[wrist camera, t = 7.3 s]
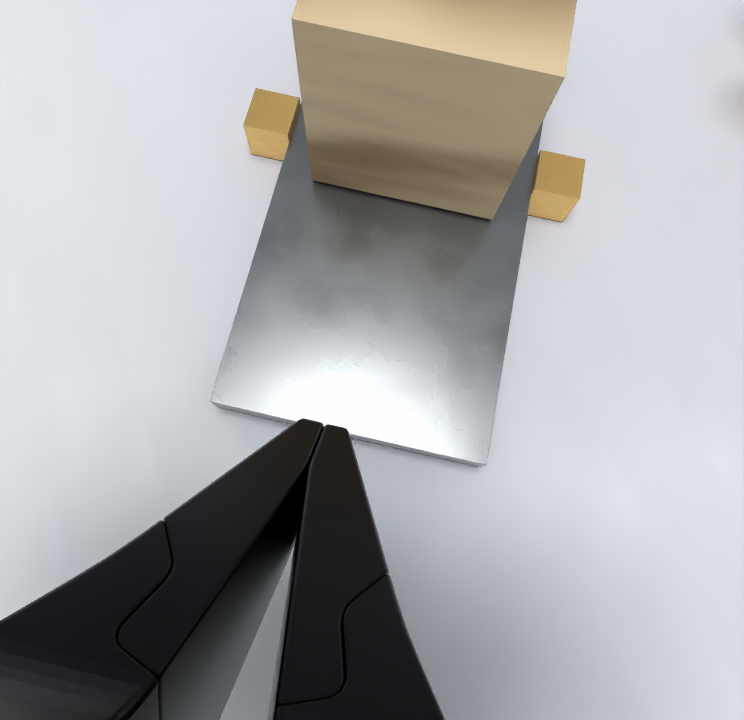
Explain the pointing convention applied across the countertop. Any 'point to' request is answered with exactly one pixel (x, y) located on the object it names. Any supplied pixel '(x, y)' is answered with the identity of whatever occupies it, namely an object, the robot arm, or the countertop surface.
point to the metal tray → (380, 300)
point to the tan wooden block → (428, 93)
